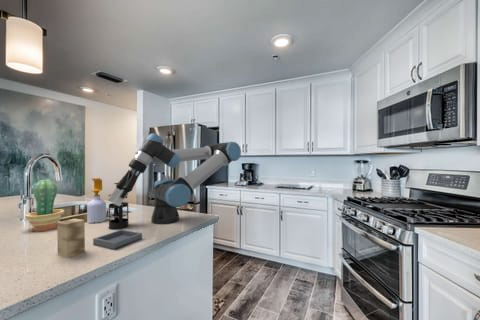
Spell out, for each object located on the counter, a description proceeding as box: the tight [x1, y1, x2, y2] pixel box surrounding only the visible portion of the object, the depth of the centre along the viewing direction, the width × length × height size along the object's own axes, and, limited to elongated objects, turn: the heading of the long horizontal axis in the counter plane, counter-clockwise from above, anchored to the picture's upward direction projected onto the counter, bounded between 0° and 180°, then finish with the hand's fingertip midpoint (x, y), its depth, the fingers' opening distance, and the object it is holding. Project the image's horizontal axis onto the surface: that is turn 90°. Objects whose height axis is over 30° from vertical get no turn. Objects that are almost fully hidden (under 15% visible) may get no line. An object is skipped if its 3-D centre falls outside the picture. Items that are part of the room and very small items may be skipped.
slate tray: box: [92, 229, 143, 251], centre depth 94 cm, size 13×13×2 cm
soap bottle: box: [86, 177, 107, 224], centre depth 126 cm, size 9×9×25 cm
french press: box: [107, 182, 130, 231], centre depth 116 cm, size 12×9×23 cm
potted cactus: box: [24, 179, 65, 232], centre depth 114 cm, size 15×15×25 cm
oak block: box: [56, 218, 86, 259], centre depth 83 cm, size 6×6×12 cm
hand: (113, 203), depth 98 cm, fingers open, 13 cm apart
